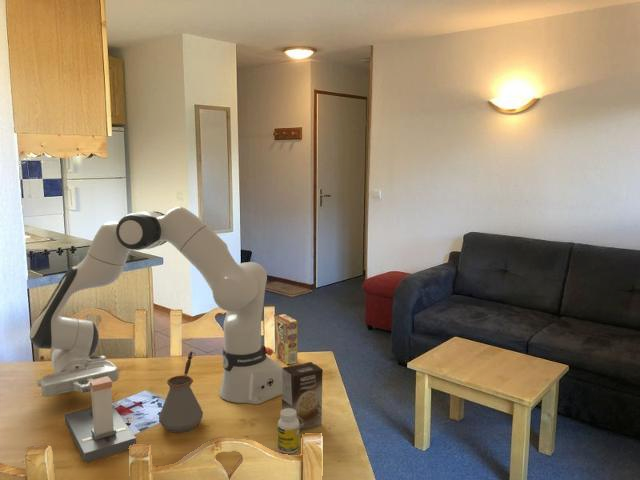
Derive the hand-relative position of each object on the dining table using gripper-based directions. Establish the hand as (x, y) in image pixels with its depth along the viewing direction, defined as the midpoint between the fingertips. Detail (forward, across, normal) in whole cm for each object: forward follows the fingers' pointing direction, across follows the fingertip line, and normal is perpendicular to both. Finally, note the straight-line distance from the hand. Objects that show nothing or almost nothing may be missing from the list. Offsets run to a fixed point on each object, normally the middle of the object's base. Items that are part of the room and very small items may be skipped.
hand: (86, 389), depth 149 cm
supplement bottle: (+44, +37, +8) cm, 58 cm away
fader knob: (+16, 0, +5) cm, 17 cm away
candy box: (-3, +66, +8) cm, 67 cm away
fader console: (+11, 0, +8) cm, 14 cm away
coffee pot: (+14, +22, +8) cm, 28 cm away
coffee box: (+37, +46, +8) cm, 59 cm away
